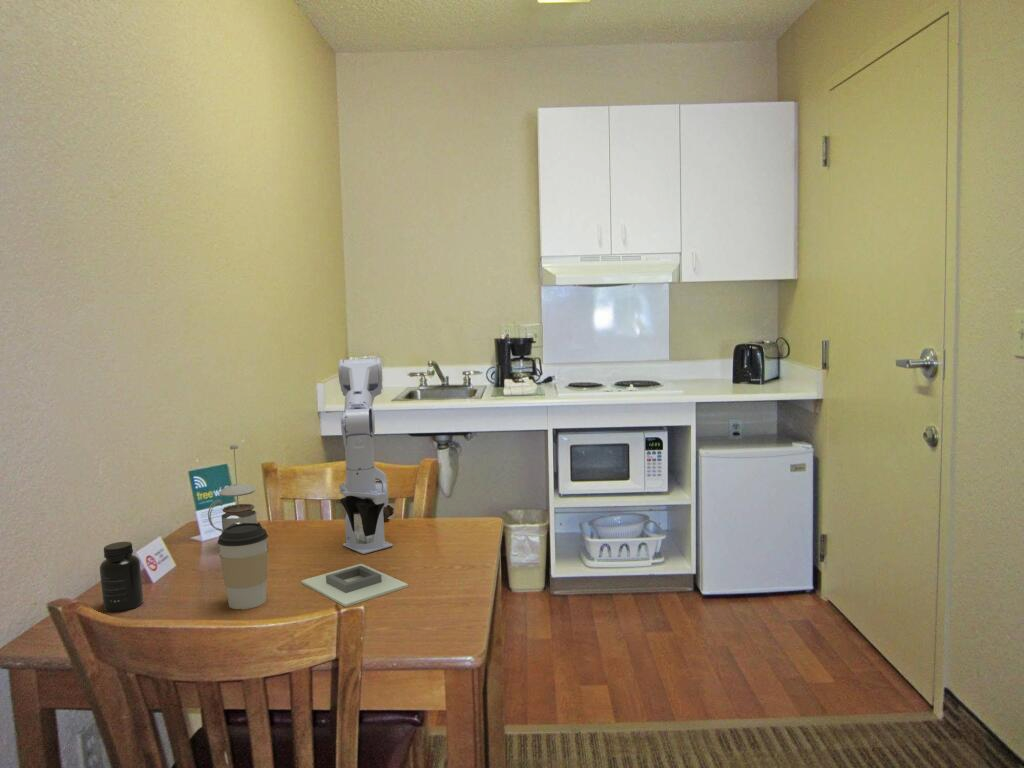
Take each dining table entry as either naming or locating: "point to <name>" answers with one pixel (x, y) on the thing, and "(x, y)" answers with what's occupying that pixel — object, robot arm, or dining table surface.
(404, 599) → the dining table surface
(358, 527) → the key peg
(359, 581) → the socket
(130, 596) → the supplement bottle
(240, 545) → the coffee cup
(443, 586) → the dining table surface
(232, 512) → the french press
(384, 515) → the bolt
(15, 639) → the dining table surface
